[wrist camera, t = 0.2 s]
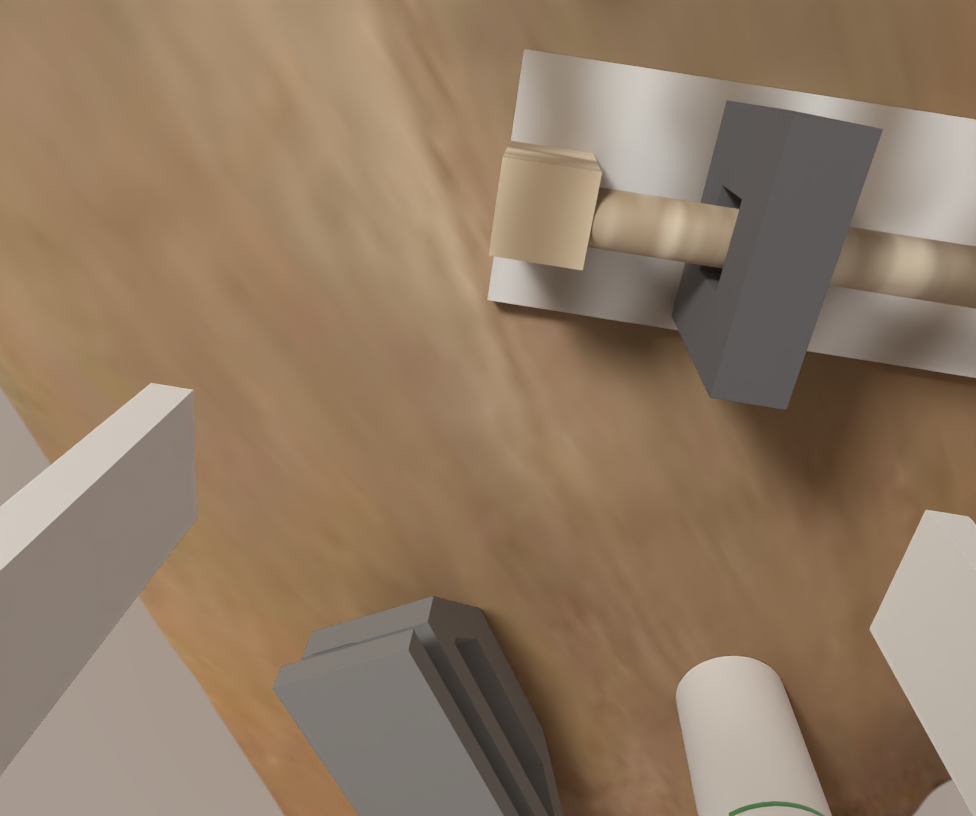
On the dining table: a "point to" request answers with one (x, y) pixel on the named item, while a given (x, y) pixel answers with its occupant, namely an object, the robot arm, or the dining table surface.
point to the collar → (771, 247)
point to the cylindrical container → (745, 742)
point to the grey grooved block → (421, 715)
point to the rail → (726, 209)
